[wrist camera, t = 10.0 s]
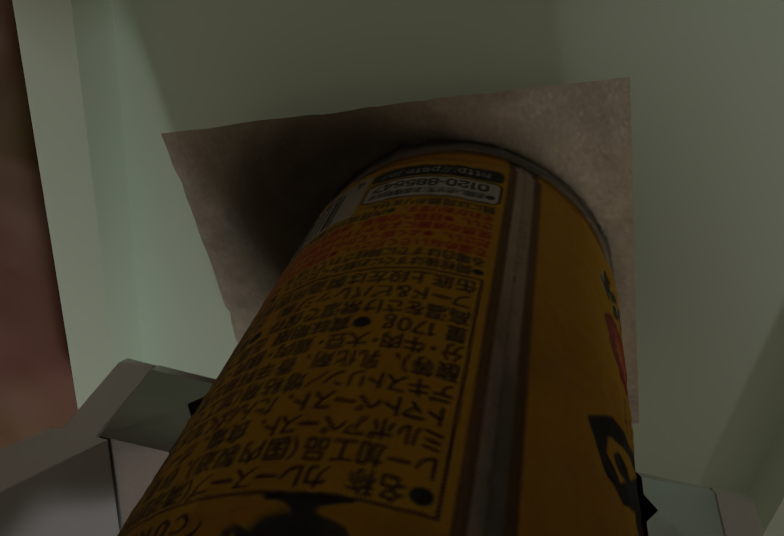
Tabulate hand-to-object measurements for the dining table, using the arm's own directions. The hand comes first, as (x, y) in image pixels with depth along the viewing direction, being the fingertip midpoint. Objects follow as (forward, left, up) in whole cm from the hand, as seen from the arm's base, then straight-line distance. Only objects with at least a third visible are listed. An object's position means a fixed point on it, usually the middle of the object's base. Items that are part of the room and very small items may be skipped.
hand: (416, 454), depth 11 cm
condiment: (0, +1, -5) cm, 5 cm away
